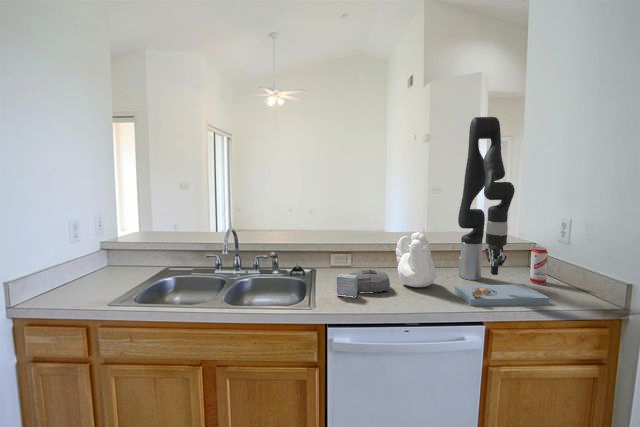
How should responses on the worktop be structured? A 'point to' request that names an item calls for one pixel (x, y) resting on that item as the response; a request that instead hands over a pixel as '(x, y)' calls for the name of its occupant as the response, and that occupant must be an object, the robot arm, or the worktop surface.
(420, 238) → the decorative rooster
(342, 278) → the medicine box
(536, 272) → the beer can
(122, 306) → the worktop surface
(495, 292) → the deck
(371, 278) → the grey rounded bag
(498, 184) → the robot arm
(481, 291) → the ball
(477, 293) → the cork ball
